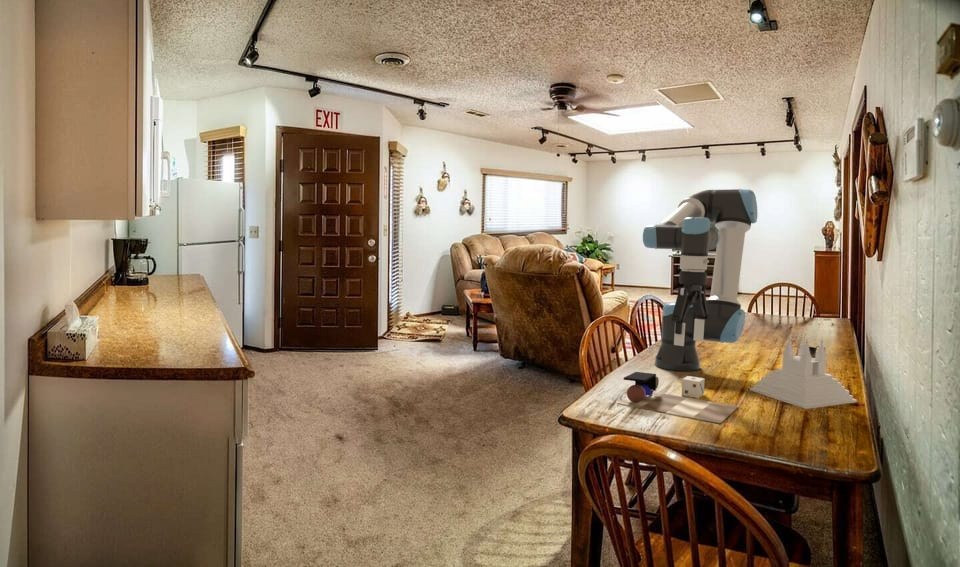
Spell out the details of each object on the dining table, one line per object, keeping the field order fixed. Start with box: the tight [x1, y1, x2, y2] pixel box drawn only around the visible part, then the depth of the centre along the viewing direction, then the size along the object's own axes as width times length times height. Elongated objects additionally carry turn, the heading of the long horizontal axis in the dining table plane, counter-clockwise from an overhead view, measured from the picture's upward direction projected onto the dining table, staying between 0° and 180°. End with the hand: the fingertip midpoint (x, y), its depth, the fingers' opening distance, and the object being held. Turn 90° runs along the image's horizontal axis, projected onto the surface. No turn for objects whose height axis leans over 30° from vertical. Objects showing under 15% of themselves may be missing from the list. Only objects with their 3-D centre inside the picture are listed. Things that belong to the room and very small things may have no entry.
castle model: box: [749, 333, 857, 410], centre depth 184 cm, size 20×20×18 cm
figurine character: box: [623, 371, 660, 403], centre depth 178 cm, size 7×8×15 cm
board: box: [616, 391, 739, 425], centre depth 172 cm, size 18×28×1 cm, turn 54°
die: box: [681, 375, 705, 399], centre depth 183 cm, size 5×5×5 cm
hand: (688, 343), depth 182 cm, fingers open, 13 cm apart
